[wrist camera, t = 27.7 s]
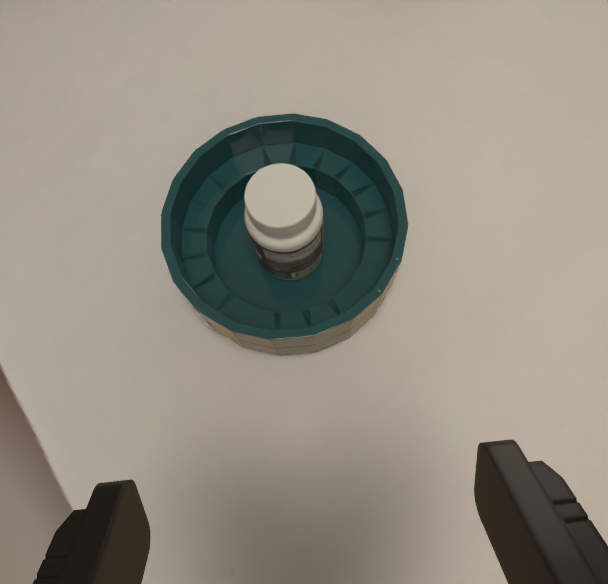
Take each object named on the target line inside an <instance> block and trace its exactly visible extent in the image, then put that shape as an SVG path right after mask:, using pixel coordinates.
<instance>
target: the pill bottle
mask: <svg viewBox="0 0 608 584" xmlns="http://www.w3.org/2000/svg"><path fill="white" fill-rule="evenodd" d="M244 200H245V212H244V218H245V224H246V228H247V230H248V233H249V235H250V238H251V241H252V244H253V246H254V249H255V252H256V255H257V257H258V260H259V262H260V264H261V266H262V267H263V268H264V269H265V271H266V272H268V273H269V274H270V275H272V276H274V277H276V278H278V279H281V280H298V279H302V278H304V277H306V276H308V275H309V274H311V273H312V272H313V271H314V270H315V269H316V268H317V267H318V265H319V264H320V262H321V259H322V256H323V243H324V237H323V208H322V204H321V201H320V199H319V197H318V195H317V194H316V190H315V186H314V184H313V181H312V180H311V178H310V177H309V176H308V174H307V173H306V172H304V171H303V170H302V169H300V168H298V167H296V166H294V165H290V164H284V163H279V164H272V165H269V166H266V167H264V168H262V169H260V170H259V171H257V172H256V173H255V174H254V175H253V176H252V177H251V179H250V180H249V182H248V184H247V186H246V189H245V195H244Z"/></svg>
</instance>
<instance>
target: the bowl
mask: <svg viewBox="0 0 608 584" xmlns="http://www.w3.org/2000/svg"><path fill="white" fill-rule="evenodd" d="M279 163H284V164H290V165H294V166H296V167H298V168H300V169H302V170H303V171H304V172H306V173H307V174H308V176H309V177H310V178H311V180H312V181H313V184H314V186H315V190H316V194H317V195H318V197H319V199H320V201H321V204H322V208H323V237H324V243H323V256H322V259H321V262H320V264H319V265H318V267H317V268H316V269H315V270H314V271H313V272H312V273H311V274H309V275H308V276H306V277H304V278H302V279H298V280H281V279H278V278H276V277H274V276H272V275H270V274H269V273H268V272H266V271H265V269H264V268H263V267H262V266H261V264H260V262H259V260H258V257H257V255H256V252H255V249H254V246H253V244H252V241H251V238H250V235H249V233H248V230H247V228H246V224H245V218H244V212H245V200H244V195H245V189H246V186H247V184H248V182H249V180H250V179H251V177H252V176H253V175H254V174H255V173H256V172H257V171H259V170H260V169H262V168H264V167H266V166H269V165H272V164H279ZM407 229H408V220H407V214H406V208H405V202H404V195H403V190H402V188H401V186H400V184H399V182H398V180H397V179H396V177H395V175H394V173H393V171H392V169H391V168H390V166H389V164H388V162H387V160H386V159H385V158H384V157H383V156H382V155H381V154H380V153H379V152H378V151H377V150H376V149H374V148H373V147H372V146H371V145H370V144H369V143H368V142H367V141H366V140H365V139H364V138H363V137H362V136H360V135H359V134H357V133H354V132H352V131H350V130H348V129H346V128H344V127H342V126H340V125H338V124H336V123H334V122H332V121H330V120H327V119H322V118H316V117H310V116H304V115H299V114H283V115H273V116H263V117H256V118H253V119H250V120H248V121H245V122H243V123H240V124H237V125H235V126H232V127H229V128H227V129H224V131H223V130H222V131H221V132H220V133H218V134H217V135H215V136H214V137H213V138H211V139H210V140H209V141H207V142H206V143H205V144H203V145H202V146H201V147H199V148H198V149H197V150H195V152H193V154H192V155H191V156H190V158H189V159H188V160H187V162H186V163H185V164H184V166H183V167H182V168H181V169H180V171H179V172H178V173H177V175H176V176H175V177H174V179H173V181H172V184H171V187H170V190H169V192H168V195H167V198H166V201H165V204H164V207H163V210H162V214H161V247H162V251H163V254H164V257H165V260H166V263H167V265H168V268H169V271H170V274H171V276H172V279H173V282H174V283H175V284H176V286H177V287H178V288H179V289H180V290H181V292H182V293H183V294H184V295H185V297H186V298H187V299H188V300H189V301H190V303H191V304H192V305H193V306H194V307H195V309H196V310H197V311H198V312H199V313H200V314H201V315H202V316H203V318H204V319H205V320H206V321H207V322H208V323H209V324H210V325H211V326H212V327H213V329H215V330H216V331H217V332H219V333H221V334H222V335H224V336H226V337H227V338H229V339H231V340H232V341H234V342H236V343H237V344H239V345H241V346H242V347H245V348H248V349H252V350H257V351H261V352H266V353H270V354H275V355H290V354H301V353H312V352H317V351H319V350H321V349H324V348H326V347H328V346H331V345H333V344H335V343H338V342H340V341H342V340H345V339H347V338H349V337H350V336H351V335H352V334H353V333H355V332H356V331H357V330H358V329H359V328H360V327H361V326H363V325H364V324H365V323H366V322H367V321H368V320H369V319H371V318H372V317H373V316H374V315H375V313H376V312H377V310H378V308H379V306H380V305H381V303H382V301H383V299H384V298H385V296H386V294H387V293H388V291H389V289H390V287H391V285H392V283H393V280H394V278H395V276H396V273H397V270H398V268H399V266H400V263H401V260H402V256H403V250H404V245H405V240H406V235H407Z"/></svg>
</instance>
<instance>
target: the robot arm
mask: <svg viewBox="0 0 608 584" xmlns="http://www.w3.org/2000/svg"><path fill="white" fill-rule="evenodd" d="M474 495H475V502H476V506H477V510H478V513H479V516H480V519H481V521H482V524H483V526H484V528H485V531H486V533H487V535H488V538H489V540H490V542H491V544H492V547H493V549H494V551H495V554H496V556H497V558H498V561H499V563H500V565H501V568H502V570H503V572H504V575H505V577H506V579H507V582H508V584H608V546H607V544H606V543H605V541H604V540H603V538H602V537H601V535H600V534H599V532H598V531H597V529H596V528H595V526H594V525H593V523H592V522H591V520H589V519H588V515H587V514H586V512H585V511H584V509H583V508H582V506H581V505H580V503H577V500H576V497H575V496H574V494H573V493H572V491H571V490H570V488H569V486H568V485H567V483H566V482H565V480H564V479H563V477H561V476H560V475H559V474H558V473H556V472H555V471H554V470H553V469H551V468H550V467H549V466H548V465H546V464H545V463H544V462H543V461H534V462H528V461H527V459H526V457H525V456H524V454H523V452H522V451H521V449H520V447H519V446H518V444H517V443H516V442H515V441H514V440H503V441H493V442H484V443H480V444H479V445H478V451H477V462H476V474H475V485H474ZM149 549H150V526H149V522H148V519H147V516H146V513H145V510H144V507H143V504H142V502H141V499H140V496H139V493H138V490H137V487H136V484H135V482H134V481H133V480H123V481H114V482H105V483H99V484H97V485H96V487H95V488H94V490H93V493H92V495H91V498H90V500H89V503H88V505H87V508H86V509H82V510H74V511H73V512H72V513H71V514H70V516H69V517H68V518H67V519H66V520H65V521H64V523H63V524H62V525H61V526H60V527H59V529H58V530H57V531H56V533H55V535H54V537H53V539H52V541H51V544H50V546H49V548H48V550H47V553H46V558H45V560H43V562H42V564H41V566H40V568H39V571H38V573H37V579H36V580H34V582H33V584H141V583H142V579H143V575H144V571H145V566H146V562H147V558H148V554H149Z"/></svg>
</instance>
